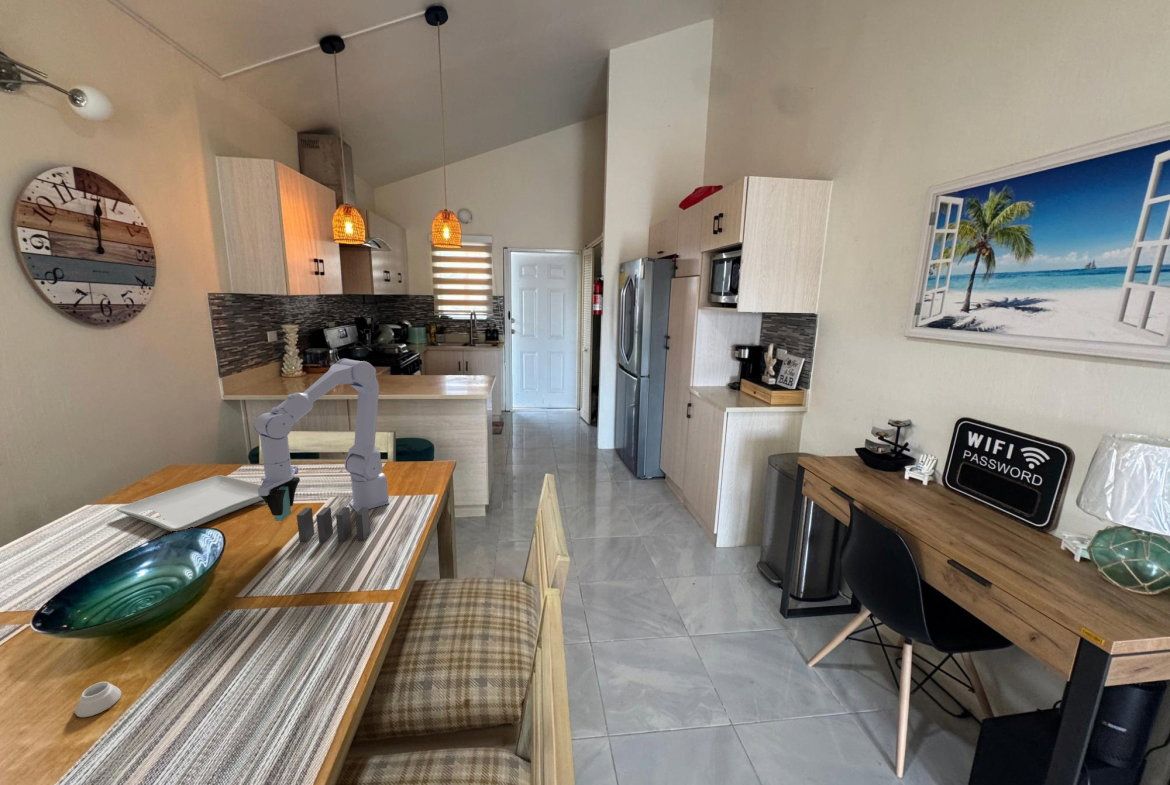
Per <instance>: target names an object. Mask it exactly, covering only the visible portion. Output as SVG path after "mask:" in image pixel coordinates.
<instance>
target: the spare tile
mask: <svg viewBox="0 0 1170 785" xmlns="http://www.w3.org/2000/svg"><path fill="white" fill-rule="evenodd" d="M279 490H286V492H285V494H284V499H283V513H282V515H275V516H274V520H275V522H283V521H284V520H285V519H286V518H287V517H289V516H290V515H291V514H292V506H290V498H289V490H288V486H282V487H280V488H279Z"/></svg>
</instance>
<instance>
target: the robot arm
mask: <svg viewBox="0 0 1170 785" xmlns="http://www.w3.org/2000/svg"><path fill="white" fill-rule="evenodd" d="M339 385H350V387H352V388H353V389H355V391H357V404H356V419H355V430H354V441H353V442H354V444H353V445H352V446H351V447H350V448H349V449H348V454H347V456H346V459H345V460H344V468H345V470H346V471H347V472H348V473H349V475H350V479H351V492H352V500H350V501H349V502H348V503H349V505H350V506H351V508H352V509H353V510H354V511H355V513H357V512H358V511H359V510H360V509H361V508H362V507H368V510H371V509H375V508H377V507H382V506H386V505H388V503H389V504H390V500H389V488H388V480H387V476H386V474H385V473H384V472H382V470H383V462H382V460H381V452H380V451H379V450H378V448H377V446H376V444H375V443H376V434H377V432H376V431H377V421H378V420H377V419H378V418H377V417H378V408H379V405H378V404H379V395H380V394H379V393H380V386H379V382H378V379H377V369H376V368H375V367H374V366H373V365H372V364H371V363H370V362H368V361H365V360H363V361H362V360H361V361H360V360H355V359H350V358H341V359H339V360H338V361H336V363H333V364H332V365H330V368H329V369H328V371H327V372H325V373H323V375H321V376H320V377H319V378H318V379H317V380H316V381H315V382H314V383H312V384H311V385H310V386H309V387H308V388H307V389H305V391H303V392H294V393H289V394H288V395H287V396H286V399H285V400H283V401H282V402H281V403H280V404H278V405H277V406H276V407H275V406H273V407H272V408H271V409H270V412H265V413H262V414H260V415H259V416H258V417H257V418H256V421H255V423H254V425H253V430H254V431H255V433H257V434H258V436H259V437H260V439H259V440H260V447H261V455H262V462H263V470H264V475H262V476H261V477H260V480H261V481H262V483H261V484H260V485H261V486H260V487H259V488H258V495H259V496H261V497H262V498H263V501H264V502H265V503H266V505H267V506H268V508H269V511H270V512H271V515H272V516H274V517H275V515H282V513H283V499H284V494H285V492H286V490H279V488H280V487H282V486H288V490H289V498H290V507H293V506H294V502H295V501H294V500H295V495H296V491H297V487H298V485H299V483H300V481H301V479H300V477H299V476H295V475H297V474H299V467H298V465H297V466H296V465H295V466H294V465H292V462H291V454H290V445H289V438H288V435H290V433H291V431H292V429H293V426H294V425H295V424H296V423H297V422H298V421H299V420H300V419H303V417H304V416H306V415H307V414H308V413H309V412H311V411H312V410H313V408H314V402H316V401H317V400H318V399H320V398H322V397H323V396H325V395H326V394H327V393H329V392H330V391H331V390H333V389H334V388H335V387H337V386H339ZM385 504H386V505H385Z"/></svg>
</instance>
